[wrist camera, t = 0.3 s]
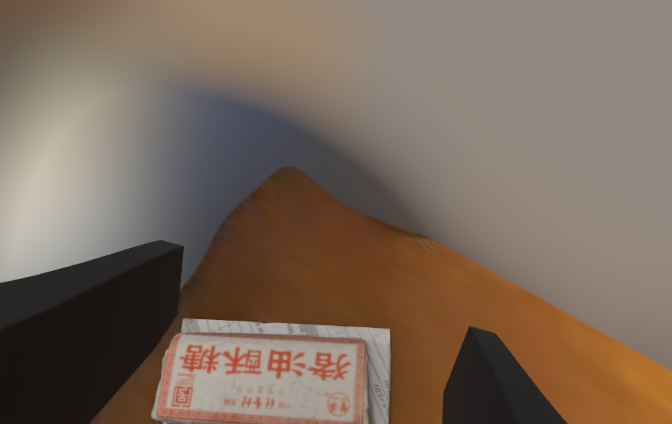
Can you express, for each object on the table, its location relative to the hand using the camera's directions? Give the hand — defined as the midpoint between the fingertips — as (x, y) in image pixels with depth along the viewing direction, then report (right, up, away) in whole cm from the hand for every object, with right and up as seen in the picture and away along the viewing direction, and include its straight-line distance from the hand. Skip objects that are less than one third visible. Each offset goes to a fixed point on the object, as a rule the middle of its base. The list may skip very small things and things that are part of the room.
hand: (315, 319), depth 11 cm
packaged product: (-4, -12, +27) cm, 30 cm away
